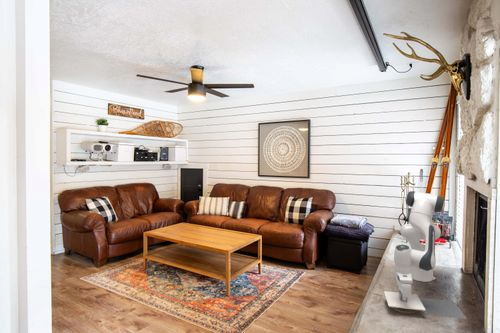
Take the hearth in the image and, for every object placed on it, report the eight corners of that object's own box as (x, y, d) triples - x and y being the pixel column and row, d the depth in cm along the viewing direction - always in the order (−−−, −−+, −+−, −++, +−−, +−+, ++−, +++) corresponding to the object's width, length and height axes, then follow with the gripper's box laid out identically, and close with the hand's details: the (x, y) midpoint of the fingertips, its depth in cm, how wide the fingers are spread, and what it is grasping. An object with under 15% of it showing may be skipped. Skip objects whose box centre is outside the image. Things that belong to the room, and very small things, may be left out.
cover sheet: (383, 292, 177) (383, 284, 177) (416, 295, 172) (416, 287, 172) (388, 306, 160) (388, 298, 160) (425, 310, 155) (425, 302, 154)
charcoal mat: (415, 298, 178) (415, 297, 178) (453, 302, 172) (453, 301, 172) (424, 314, 159) (424, 314, 159) (467, 319, 153) (467, 319, 153)
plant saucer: (408, 302, 174) (408, 298, 174) (423, 315, 159) (423, 311, 159) (384, 303, 173) (384, 299, 173) (397, 317, 158) (397, 312, 158)
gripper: (393, 267, 176) (393, 289, 177) (400, 280, 157) (400, 305, 157) (404, 267, 174) (405, 290, 175) (413, 281, 155) (413, 307, 155)
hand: (403, 297), depth 166 cm, fingers closed on cover sheet, 3 cm apart
